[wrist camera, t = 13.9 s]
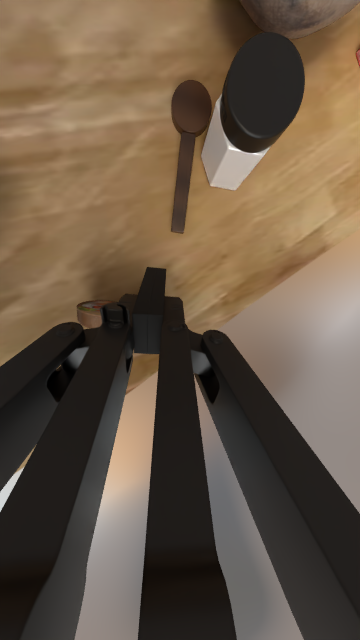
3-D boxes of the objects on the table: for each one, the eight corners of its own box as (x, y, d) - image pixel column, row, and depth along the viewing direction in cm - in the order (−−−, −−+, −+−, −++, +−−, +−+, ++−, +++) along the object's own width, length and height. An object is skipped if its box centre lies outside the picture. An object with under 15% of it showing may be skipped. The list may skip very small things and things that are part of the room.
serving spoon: (193, 235, 31) (194, 233, 30) (160, 230, 31) (160, 228, 30) (212, 93, 26) (214, 85, 25) (173, 83, 26) (174, 74, 24)
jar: (226, 115, 27) (270, -3, 15) (262, 155, 29) (325, 77, 17) (191, 167, 29) (207, 96, 17) (226, 203, 30) (263, 160, 19)
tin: (167, 310, 35) (167, 322, 27) (165, 325, 36) (164, 340, 27) (90, 297, 33) (65, 305, 25) (89, 313, 34) (65, 326, 26)
